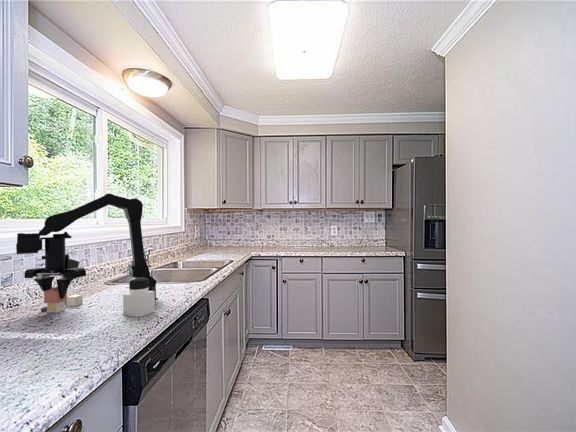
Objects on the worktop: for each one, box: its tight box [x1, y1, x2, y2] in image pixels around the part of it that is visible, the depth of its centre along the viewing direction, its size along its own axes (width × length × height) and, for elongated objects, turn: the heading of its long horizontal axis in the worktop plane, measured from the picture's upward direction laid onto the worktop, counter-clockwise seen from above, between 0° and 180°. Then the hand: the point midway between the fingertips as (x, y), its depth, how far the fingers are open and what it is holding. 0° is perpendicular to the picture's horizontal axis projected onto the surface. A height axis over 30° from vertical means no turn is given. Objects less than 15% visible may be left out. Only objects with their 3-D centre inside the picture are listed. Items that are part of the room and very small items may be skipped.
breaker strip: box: [40, 301, 80, 313], centre depth 119 cm, size 10×15×3 cm, turn 172°
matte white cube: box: [46, 301, 66, 314], centre depth 115 cm, size 4×4×3 cm
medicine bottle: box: [122, 277, 156, 318], centre depth 115 cm, size 7×7×12 cm
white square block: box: [65, 294, 84, 307], centre depth 123 cm, size 4×4×3 cm
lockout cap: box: [43, 286, 68, 304], centre depth 115 cm, size 4×4×5 cm
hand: (55, 298), depth 115 cm, fingers closed on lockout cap, 4 cm apart
